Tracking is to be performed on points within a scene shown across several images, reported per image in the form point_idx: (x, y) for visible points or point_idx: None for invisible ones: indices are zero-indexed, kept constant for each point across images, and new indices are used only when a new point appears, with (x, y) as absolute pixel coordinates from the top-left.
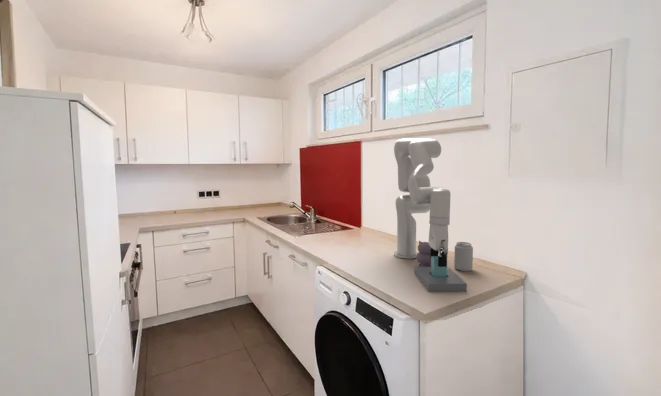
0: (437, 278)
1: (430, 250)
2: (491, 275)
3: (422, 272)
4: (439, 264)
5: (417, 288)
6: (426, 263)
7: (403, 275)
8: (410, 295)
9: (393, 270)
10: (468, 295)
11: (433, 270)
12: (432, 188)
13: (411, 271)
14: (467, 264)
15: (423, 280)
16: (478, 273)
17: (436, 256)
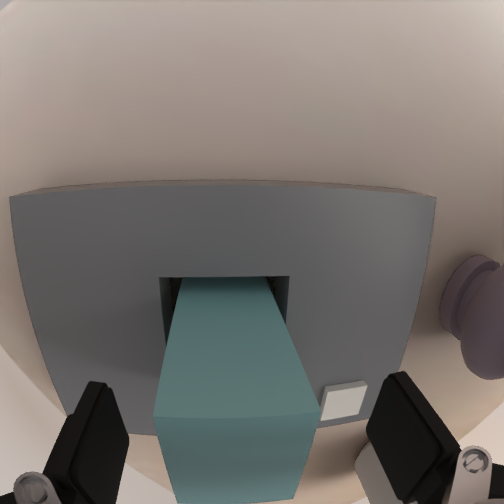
0: (126, 305)
1: (448, 434)
2: (293, 500)
3: (293, 218)
4: (85, 402)
5: (95, 122)
6: (468, 309)
7: (378, 93)
8: (8, 71)
9: (460, 76)
10: (40, 380)
11: (194, 318)
12: None
13: (442, 185)
14: (364, 482)
15: (146, 184)
16: (324, 479)
17: (292, 457)
